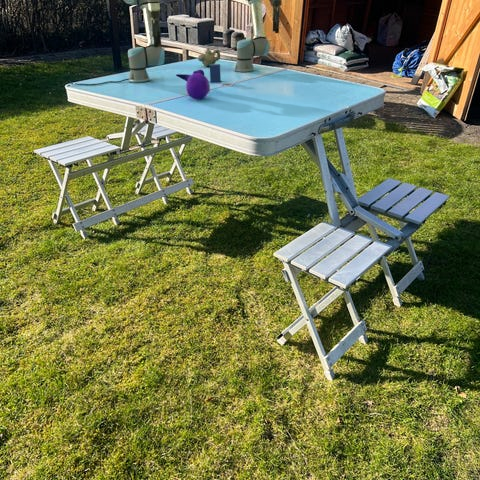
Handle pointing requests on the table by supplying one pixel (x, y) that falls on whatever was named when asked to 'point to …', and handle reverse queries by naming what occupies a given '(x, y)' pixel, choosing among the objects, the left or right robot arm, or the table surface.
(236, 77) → the table surface
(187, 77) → the toy
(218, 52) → the teapot
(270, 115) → the table surface
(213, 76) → the brick
